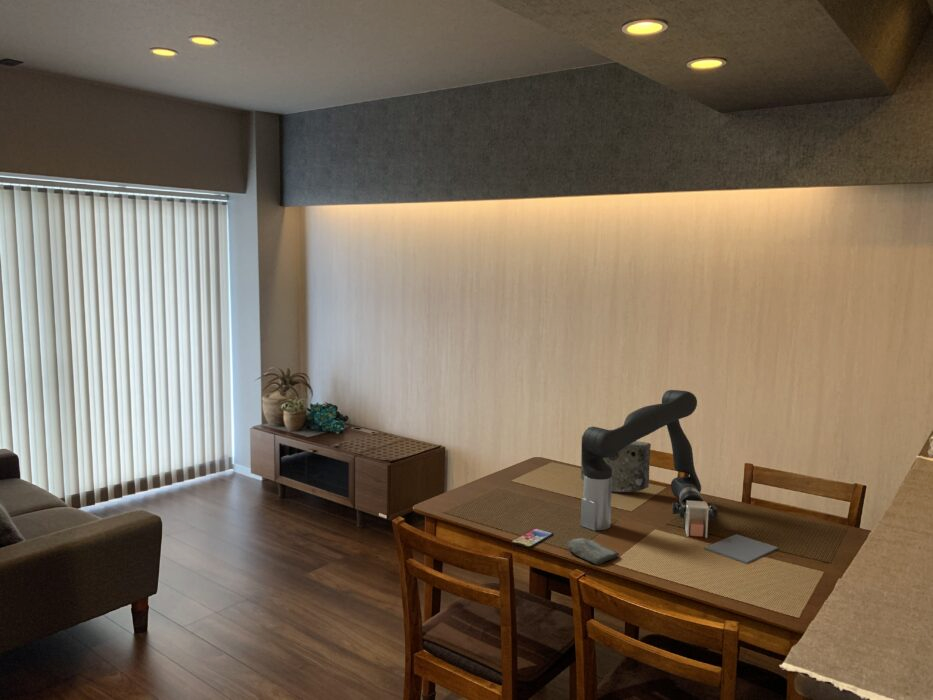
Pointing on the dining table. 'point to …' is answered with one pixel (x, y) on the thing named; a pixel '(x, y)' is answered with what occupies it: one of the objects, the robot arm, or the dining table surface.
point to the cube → (696, 528)
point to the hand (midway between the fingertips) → (697, 516)
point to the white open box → (696, 514)
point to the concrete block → (629, 467)
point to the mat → (741, 548)
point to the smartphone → (531, 538)
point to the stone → (591, 550)
